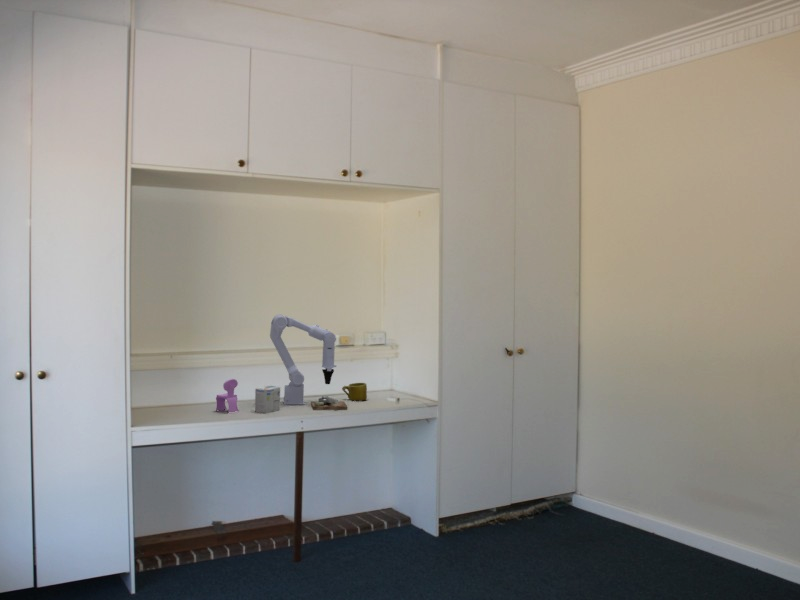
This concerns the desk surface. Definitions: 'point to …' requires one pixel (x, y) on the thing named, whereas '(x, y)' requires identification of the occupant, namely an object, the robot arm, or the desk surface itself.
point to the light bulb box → (267, 399)
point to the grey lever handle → (328, 400)
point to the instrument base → (328, 406)
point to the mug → (356, 391)
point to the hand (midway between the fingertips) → (327, 384)
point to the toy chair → (228, 396)
